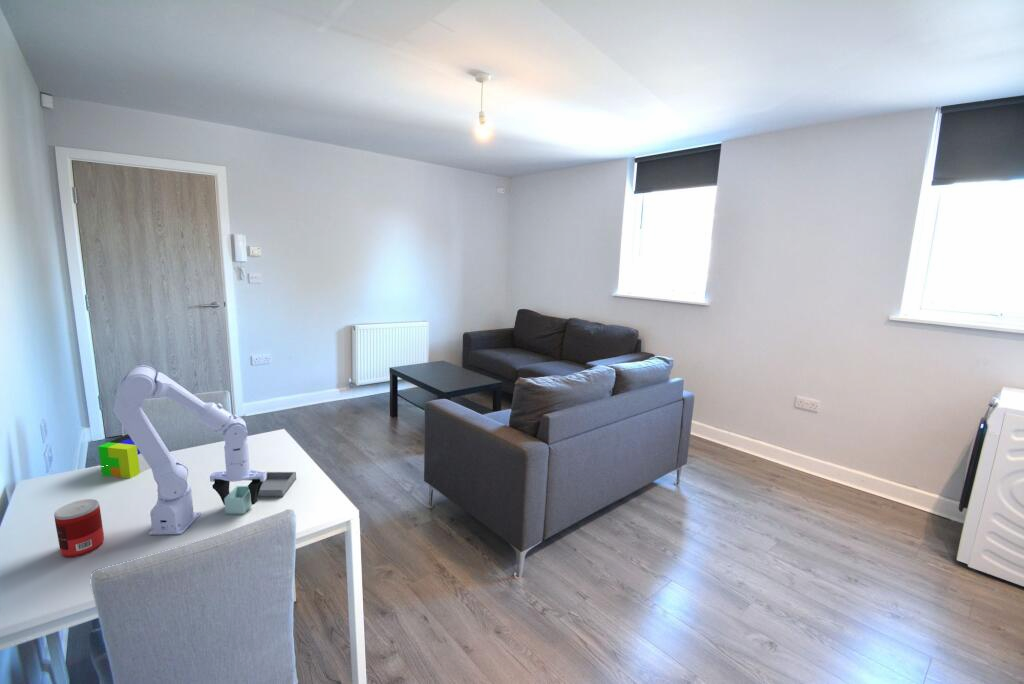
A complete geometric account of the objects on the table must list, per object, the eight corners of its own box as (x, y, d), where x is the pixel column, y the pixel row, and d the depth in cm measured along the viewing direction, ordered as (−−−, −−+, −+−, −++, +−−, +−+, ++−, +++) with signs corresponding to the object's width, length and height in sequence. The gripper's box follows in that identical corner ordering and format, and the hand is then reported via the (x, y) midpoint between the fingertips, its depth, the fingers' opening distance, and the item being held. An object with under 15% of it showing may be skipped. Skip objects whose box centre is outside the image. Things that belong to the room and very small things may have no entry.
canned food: (112, 537, 115) (107, 499, 113) (84, 559, 107) (78, 517, 105) (82, 537, 115) (75, 498, 112) (51, 558, 107) (44, 516, 104)
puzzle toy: (158, 464, 152) (154, 436, 150) (130, 478, 143) (126, 449, 141) (131, 461, 153) (127, 434, 151) (102, 475, 144) (98, 446, 142)
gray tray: (296, 478, 148) (295, 471, 147) (282, 497, 137) (282, 489, 136) (266, 478, 147) (266, 471, 146) (251, 497, 136) (250, 490, 135)
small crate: (255, 500, 134) (254, 485, 133) (244, 514, 127) (243, 498, 126) (237, 501, 134) (236, 485, 133) (225, 514, 127) (224, 498, 126)
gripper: (270, 453, 132) (272, 495, 135) (217, 453, 131) (221, 495, 133) (259, 464, 125) (262, 508, 128) (203, 464, 124) (208, 509, 126)
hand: (240, 502), depth 130 cm, fingers open, 7 cm apart
